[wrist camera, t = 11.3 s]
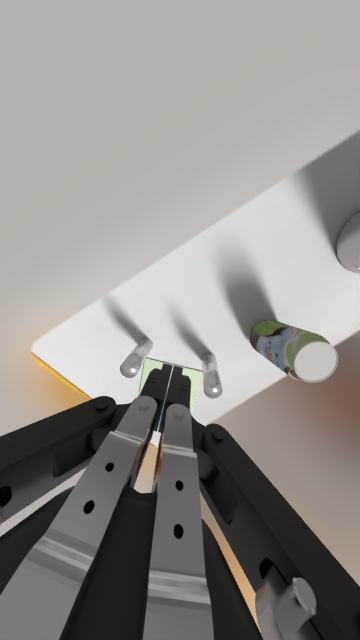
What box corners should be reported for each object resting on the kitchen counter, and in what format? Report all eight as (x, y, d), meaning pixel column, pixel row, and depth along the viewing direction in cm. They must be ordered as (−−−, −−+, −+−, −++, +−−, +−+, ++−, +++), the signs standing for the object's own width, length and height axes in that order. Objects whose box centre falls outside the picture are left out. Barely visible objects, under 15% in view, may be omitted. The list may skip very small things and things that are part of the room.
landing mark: (145, 357, 34) (145, 358, 34) (203, 371, 34) (203, 372, 34) (137, 404, 38) (137, 404, 37) (190, 417, 37) (189, 418, 37)
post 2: (203, 351, 32) (206, 381, 24) (217, 354, 32) (224, 385, 24) (200, 363, 33) (201, 395, 25) (213, 366, 33) (219, 400, 25)
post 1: (140, 336, 33) (120, 360, 24) (153, 339, 33) (138, 364, 24) (138, 348, 34) (119, 375, 25) (151, 351, 34) (135, 379, 25)
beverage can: (240, 339, 31) (266, 379, 20) (266, 305, 29) (312, 328, 17) (268, 355, 31) (309, 405, 20) (296, 324, 29) (360, 358, 18)
